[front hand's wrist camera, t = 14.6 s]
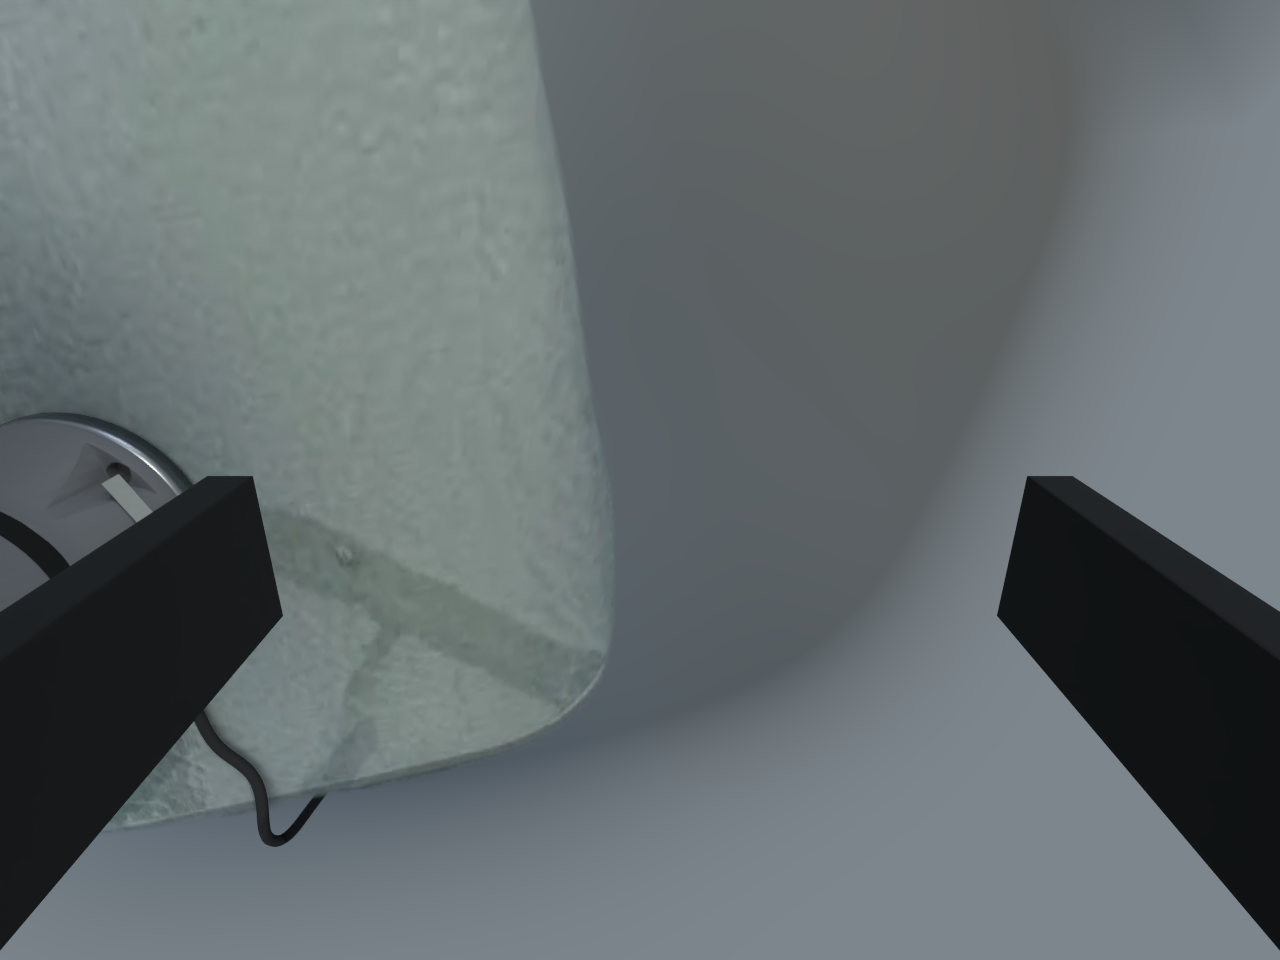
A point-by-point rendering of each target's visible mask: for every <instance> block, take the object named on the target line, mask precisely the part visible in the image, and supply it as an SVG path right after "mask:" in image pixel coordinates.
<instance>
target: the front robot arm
mask: <svg viewBox="0 0 1280 960" xmlns="http://www.w3.org/2000/svg"><path fill="white" fill-rule="evenodd" d="M282 616H283V614H282V609H281V605H280V600H279V595H278V591H277V586H276V581H275V577H274V572H273V568H272V563H271V558H270V554H269V549H268V545H267V540H266V535H265V531H264V526H263V522H262V517H261V512H260V508H259V503H258V498H257V494H256V489H255V485H254V480H253V476H207V477H205V478H204V479H202V480H201V481H199V482H198V483H196V484H195V485H192V484H191V482H190V481H189V480H188V479H187V477H186V476H185V475H184V474H183V473H182V471H181V470H180V469H179V468H178V467H177V466H176V465H175V464H174V463H173V462H172V461H171V460H170V459H169V458H168V457H166V456H165V455H164V454H163V453H162V452H160V451H159V450H158V449H157V448H155V447H154V446H152V445H151V444H150V443H148V442H147V441H145V440H144V439H142V438H140V437H139V436H137V435H135V434H133V433H132V432H130V431H127V430H125V429H123V428H121V427H119V426H117V425H114V424H111V423H109V422H106V421H103V420H100V419H96V418H93V417H88V416H84V415H78V414H70V413H41V414H35V415H29V416H26V417H22V418H19V419H16V420H13V421H10V422H8V423H5V424H2V425H0V950H1V949H2V948H3V946H4V945H5V944H6V943H7V942H8V941H9V939H10V938H11V937H12V936H13V935H14V933H15V932H16V931H17V930H18V929H19V927H20V926H21V925H22V924H23V923H24V922H25V920H26V919H27V918H28V917H29V916H30V914H31V913H32V912H33V911H34V910H35V909H36V907H37V906H38V905H39V904H40V903H41V901H42V900H43V899H44V898H45V897H46V896H47V894H48V893H49V892H50V891H51V890H52V888H53V887H54V886H55V885H56V884H57V883H58V881H59V880H60V879H61V878H62V877H63V875H64V874H65V873H66V872H67V871H68V869H69V868H70V867H71V866H72V865H73V864H74V862H75V861H76V860H77V859H78V858H79V856H80V855H81V854H82V853H83V852H84V850H85V849H86V848H87V847H88V846H89V845H90V843H91V842H92V841H93V840H94V839H95V838H96V836H97V835H98V834H99V833H100V832H101V830H102V829H103V828H104V827H105V826H106V825H107V823H108V822H109V821H110V820H111V819H112V817H113V816H114V815H115V814H116V813H117V811H118V810H119V809H120V808H121V807H122V806H123V804H124V803H125V802H126V801H127V800H128V798H129V797H130V796H131V795H132V794H133V793H134V791H135V790H136V789H137V788H138V787H139V785H140V784H141V783H142V782H143V781H144V780H145V778H146V777H147V776H148V775H149V774H150V772H151V771H152V770H153V769H154V768H155V767H156V765H157V764H158V763H159V762H160V761H161V759H162V758H163V757H164V756H165V755H166V753H167V752H168V751H169V750H170V749H171V748H172V746H173V745H174V744H175V743H176V742H177V740H178V739H179V738H180V737H181V736H182V735H183V733H184V732H185V731H186V730H187V729H188V727H189V726H190V725H191V724H192V723H193V722H194V721H195V723H196V725H197V727H198V729H199V731H200V733H201V735H202V737H203V738H204V740H205V741H206V743H207V744H208V745H209V747H210V748H211V749H212V750H213V751H214V752H215V753H216V754H217V755H218V756H220V757H221V758H222V759H223V760H225V761H226V762H228V763H229V764H230V765H232V766H233V767H235V768H236V769H237V770H239V771H240V772H241V773H242V774H243V775H244V776H245V777H246V778H247V780H248V781H249V783H250V785H251V787H252V789H253V792H254V796H255V801H256V810H257V823H258V831H259V834H260V837H261V839H262V841H263V842H264V843H265V844H267V845H269V846H272V847H277V846H281V845H283V844H285V843H287V842H289V841H290V840H291V839H292V838H293V837H294V836H295V835H296V834H297V833H298V832H299V831H300V829H301V828H302V827H303V826H304V824H305V823H306V821H307V820H308V819H309V817H310V816H311V815H312V813H313V812H314V810H315V809H316V808H317V806H318V805H319V804H320V802H321V801H322V800H323V798H324V797H325V796H326V794H324V795H318V796H314V797H313V798H312V799H311V800H310V802H309V803H308V804H307V806H306V807H305V808H304V810H303V811H302V812H301V814H300V815H299V816H298V818H297V819H296V820H295V821H294V823H293V824H292V825H291V826H290V827H289V828H288V829H287V830H286V831H285V832H284V833H283V834H281V835H274V834H273V833H272V832H271V829H270V822H269V808H268V799H267V793H266V789H265V786H264V783H263V781H262V779H261V777H260V775H259V774H258V772H257V771H256V769H255V768H254V767H253V766H252V765H251V764H250V763H249V762H248V761H246V760H245V759H244V758H242V757H241V756H240V755H238V754H237V753H235V752H234V751H233V750H231V749H230V748H229V747H228V746H226V745H225V744H224V743H223V742H222V741H221V740H220V738H219V737H218V736H217V734H216V733H215V732H214V730H213V728H212V726H211V724H210V722H209V720H208V718H207V716H206V714H205V712H204V711H203V710H204V709H205V707H206V706H207V705H208V704H209V703H210V701H211V700H212V699H213V698H214V697H215V695H216V694H217V693H218V692H219V691H220V690H221V688H222V687H223V686H224V685H225V684H226V682H227V681H228V680H229V679H230V678H231V677H232V675H233V674H234V673H235V672H236V671H237V669H238V668H239V667H240V666H241V665H242V664H243V662H244V661H245V660H246V659H247V658H248V656H249V655H250V654H251V653H252V652H253V651H254V649H255V648H256V647H257V646H258V645H259V643H260V642H261V641H262V640H263V639H264V637H265V636H266V635H267V634H268V633H269V632H270V630H271V629H272V628H273V627H274V626H275V624H276V623H277V622H278V621H279V620H280V619H281V617H282ZM997 616H998V617H999V619H1000V620H1001V621H1002V622H1003V623H1004V624H1005V626H1006V627H1007V628H1008V629H1009V630H1010V632H1011V633H1012V634H1013V635H1014V636H1015V637H1016V639H1017V640H1018V641H1019V642H1020V643H1021V645H1022V646H1023V647H1024V648H1025V649H1026V650H1027V652H1028V653H1029V654H1030V655H1031V656H1032V658H1033V659H1034V660H1035V661H1036V662H1037V664H1038V665H1039V666H1040V667H1041V668H1042V669H1043V671H1044V672H1045V673H1046V674H1047V675H1048V677H1049V678H1050V679H1051V680H1052V681H1053V682H1054V684H1055V685H1056V686H1057V687H1058V688H1059V690H1060V691H1061V692H1062V693H1063V694H1064V695H1065V697H1066V698H1067V699H1068V700H1069V701H1070V703H1071V704H1072V705H1073V706H1074V707H1075V708H1076V710H1077V711H1078V712H1079V713H1080V714H1081V716H1082V717H1083V718H1084V719H1085V720H1086V722H1087V723H1088V724H1089V725H1090V726H1091V727H1092V729H1093V730H1094V731H1095V732H1096V733H1097V735H1098V736H1099V737H1100V738H1101V739H1102V740H1103V742H1104V743H1105V744H1106V745H1107V746H1108V748H1109V749H1110V750H1111V751H1112V752H1113V753H1114V755H1115V756H1116V757H1117V758H1118V759H1119V761H1120V762H1121V763H1122V764H1123V765H1124V767H1125V768H1126V769H1127V770H1128V771H1129V772H1130V774H1131V775H1132V776H1133V777H1134V778H1135V780H1136V781H1137V782H1138V783H1139V784H1140V785H1141V787H1142V788H1143V789H1144V790H1145V791H1146V793H1147V794H1148V795H1149V796H1150V797H1151V798H1152V800H1153V801H1154V802H1155V803H1156V804H1157V806H1158V807H1159V808H1160V809H1161V810H1162V811H1163V813H1164V814H1165V815H1166V816H1167V817H1168V819H1169V820H1170V821H1171V822H1172V823H1173V825H1174V826H1175V827H1176V828H1177V829H1178V830H1179V832H1180V833H1181V834H1182V835H1183V836H1184V838H1185V839H1186V840H1187V841H1188V842H1189V843H1190V845H1191V846H1192V847H1193V848H1194V849H1195V851H1196V852H1197V853H1198V854H1199V855H1200V856H1201V858H1202V859H1203V860H1204V861H1205V862H1206V864H1207V865H1208V866H1209V867H1210V868H1211V869H1212V871H1213V872H1214V873H1215V874H1216V875H1217V877H1218V878H1219V879H1220V880H1221V881H1222V883H1223V884H1224V885H1225V886H1226V887H1227V888H1228V890H1229V891H1230V892H1231V893H1232V894H1233V896H1234V897H1235V898H1236V899H1237V900H1238V901H1239V903H1240V904H1241V905H1242V906H1243V907H1244V909H1245V910H1246V911H1247V912H1248V913H1249V914H1250V916H1251V917H1252V918H1253V919H1254V920H1255V922H1256V923H1257V924H1258V925H1259V926H1260V927H1261V929H1262V930H1263V931H1264V932H1265V933H1266V935H1267V936H1268V937H1269V938H1270V939H1271V940H1272V942H1273V943H1274V944H1275V945H1276V946H1277V948H1278V949H1279V950H1280V612H1279V611H1278V610H1276V609H1275V608H1273V607H1272V606H1270V605H1268V604H1267V603H1265V602H1264V601H1262V600H1261V599H1259V598H1258V597H1256V596H1255V595H1253V594H1252V593H1250V592H1249V591H1247V590H1246V589H1244V588H1243V587H1241V586H1240V585H1238V584H1237V583H1235V582H1233V581H1232V580H1230V579H1229V578H1227V577H1226V576H1224V575H1223V574H1221V573H1220V572H1218V571H1217V570H1215V569H1214V568H1212V567H1211V566H1209V565H1207V564H1206V563H1204V562H1203V561H1201V560H1200V559H1198V558H1197V557H1195V556H1194V555H1192V554H1191V553H1189V552H1188V551H1186V550H1185V549H1183V548H1182V547H1180V546H1178V545H1177V544H1175V543H1174V542H1172V541H1171V540H1169V539H1168V538H1166V537H1165V536H1163V535H1162V534H1160V533H1159V532H1157V531H1156V530H1154V529H1152V528H1151V527H1149V526H1148V525H1146V524H1145V523H1143V522H1142V521H1140V520H1139V519H1137V518H1136V517H1134V516H1133V515H1131V514H1129V513H1128V512H1127V511H1125V510H1123V509H1122V508H1120V507H1119V506H1117V505H1116V504H1114V503H1113V502H1111V501H1110V500H1108V499H1107V498H1105V497H1104V496H1102V495H1100V494H1099V493H1097V492H1096V491H1094V490H1093V489H1091V488H1090V487H1088V486H1087V485H1085V484H1084V483H1082V482H1081V481H1079V480H1078V479H1076V478H1074V477H1073V476H1027V480H1026V485H1025V489H1024V494H1023V499H1022V503H1021V508H1020V512H1019V517H1018V522H1017V526H1016V531H1015V535H1014V540H1013V545H1012V549H1011V554H1010V558H1009V563H1008V568H1007V572H1006V577H1005V581H1004V586H1003V591H1002V595H1001V600H1000V605H999V609H998V614H997Z"/></svg>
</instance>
